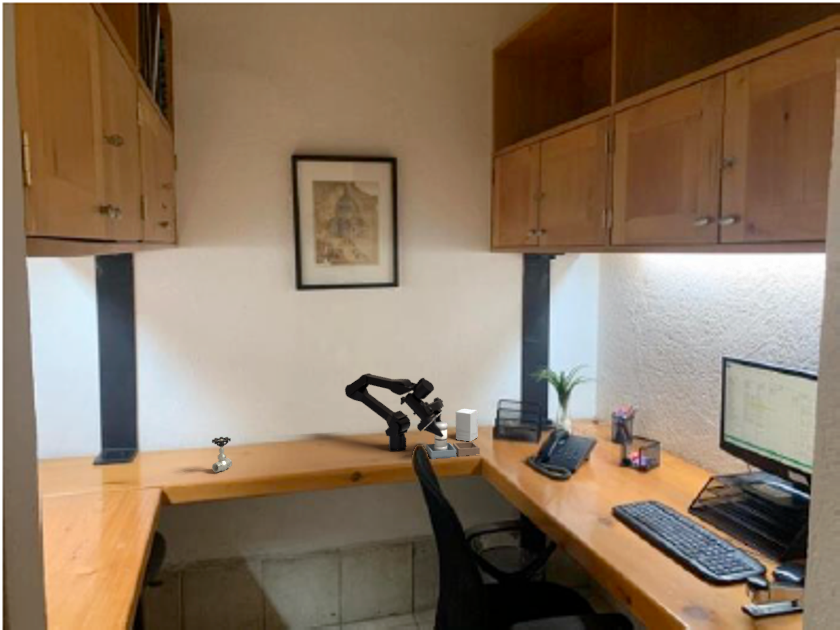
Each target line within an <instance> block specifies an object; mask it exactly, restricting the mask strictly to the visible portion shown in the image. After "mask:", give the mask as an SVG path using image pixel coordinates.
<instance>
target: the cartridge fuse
mask: <svg viewBox="0 0 840 630" xmlns="http://www.w3.org/2000/svg"><path fill="white" fill-rule="evenodd" d="M436 425H437V427H438V428H439V429H440V431H441V432H442V434H443V437H440V436H437V435H435V434H434V444H435V445H434V451H444V450H447V443H448V423H447V422H446V421H445V422H444V421H442V422H436Z"/></svg>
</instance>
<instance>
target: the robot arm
mask: <svg viewBox="0 0 840 630" xmlns="http://www.w3.org/2000/svg"><path fill="white" fill-rule="evenodd" d="M369 386H373V387H377V388H383V389H387V390H389V391H390V392H391V393H393V394H395V395H398V396H401V397H400V399H399V400H400V405H401V406H402V405H404V404H406V405H407V407H409V408H410V409H411V410H412V412H413V413H412V414H413V416H417V417H418V418H419V419H420V420H419V422H418V424H416V427H417V430H418V431H419V432H422V431H425V432H428V433H431V434H433V435H434V436H435V435H437V436H440V437H443V434H442V432H441V431H440V429H439V428H438V427H437V425H436V422H443V421H442V420H441V419H442V418H441V417H442V412H443V408H444V407H445V406H444V401H443V399H441V398H439V397H435V398H433V401H432V402H430V403H429V402H428V401H424V400H425V399H426V398H427V397H428V396H430V394H431V393H433V391H434V390H435V386H434V384H433V383H432V382H431V381H429V380H427V379H426V378H425V377H422V378H419V379H418V381H417V382H416V383H415V382H412V381H411V380H410V379H409V378H388V377H385V376H380V375H375V374H371V373H364V374H362V375H360V376H359V377H358V378H357V379H355V380H354V381H353V382H351V383H350V384H347V385H346V386H345V387H344V388H345V389H344V393H345V396H346V397H347V398H349V399H351V400H352V401H356V402H360V403H362V404H363V405H364V406H366V407H367V408H368V409H370V410H371V411H372V412H374V413H375V414H376V415H378V416H379V417H380V418H382V420H384V421H385V422H386V425H387V429H385V431H384V432H385V436H387V437H388V445H387V448H388V449H389V452H398V451H406V450H407V449H406V448H407V437H406V435H405V434H407V433H408V430H409V429H410V427H411V419H410V418H409V417H408V414H406V413H404V412H403V411H402V410H397V411H393V410H391V409H390V408H389V407H388V406H387V405H385V404H384V403H382V402H381V401H379V400H378V398H376V397H375V396H373V395H372V394H371V393H370V392H369V391H368V387H369ZM402 395H405V396H402Z"/></svg>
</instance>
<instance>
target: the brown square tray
mask: <svg viewBox="0 0 840 630" xmlns="http://www.w3.org/2000/svg"><path fill="white" fill-rule="evenodd" d="M452 446H453V447H454V448H455V449H456V453H457V454H456V456H458V457H459V456H461V457H467V456H466V455H475V456H477V455H476V454H481V453H480V451H481V450H480V449H481V448H480V447H479V446H478V444H476V443H475V442H474V441H472V442H466V441H460V442H453V443H452Z"/></svg>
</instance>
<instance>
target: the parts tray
mask: <svg viewBox="0 0 840 630" xmlns="http://www.w3.org/2000/svg"><path fill="white" fill-rule="evenodd" d="M434 445H435V443H426V444H425V451H426V450H427V452H428V453H427V452H426V453H427V455H428V454H429V455H428V456H429V458H430V459H431V460H435V459H436V458H441V459H451V458H450V457H455V458H457V454H456V449H455V448H454V447H453V444H451V442H447V450H444V451H434ZM436 460H437V459H436Z"/></svg>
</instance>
